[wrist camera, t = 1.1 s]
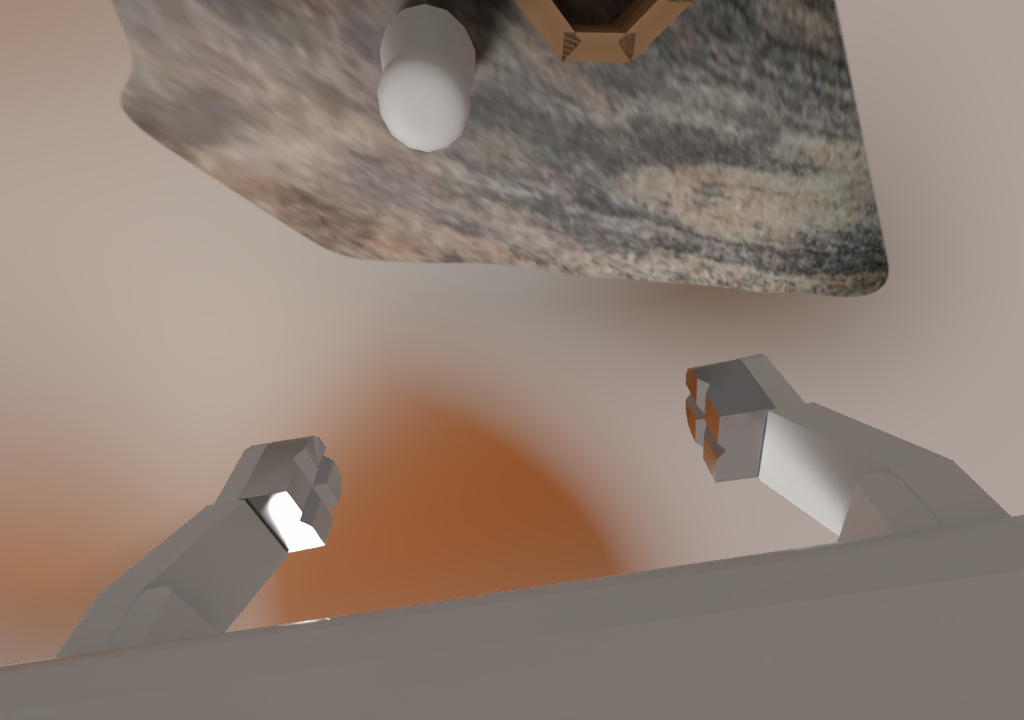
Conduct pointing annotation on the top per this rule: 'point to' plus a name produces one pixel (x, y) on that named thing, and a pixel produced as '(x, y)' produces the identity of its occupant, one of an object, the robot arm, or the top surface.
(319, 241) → the top surface
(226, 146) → the top surface
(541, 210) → the top surface
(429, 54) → the salt shaker
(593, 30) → the walnut ring
